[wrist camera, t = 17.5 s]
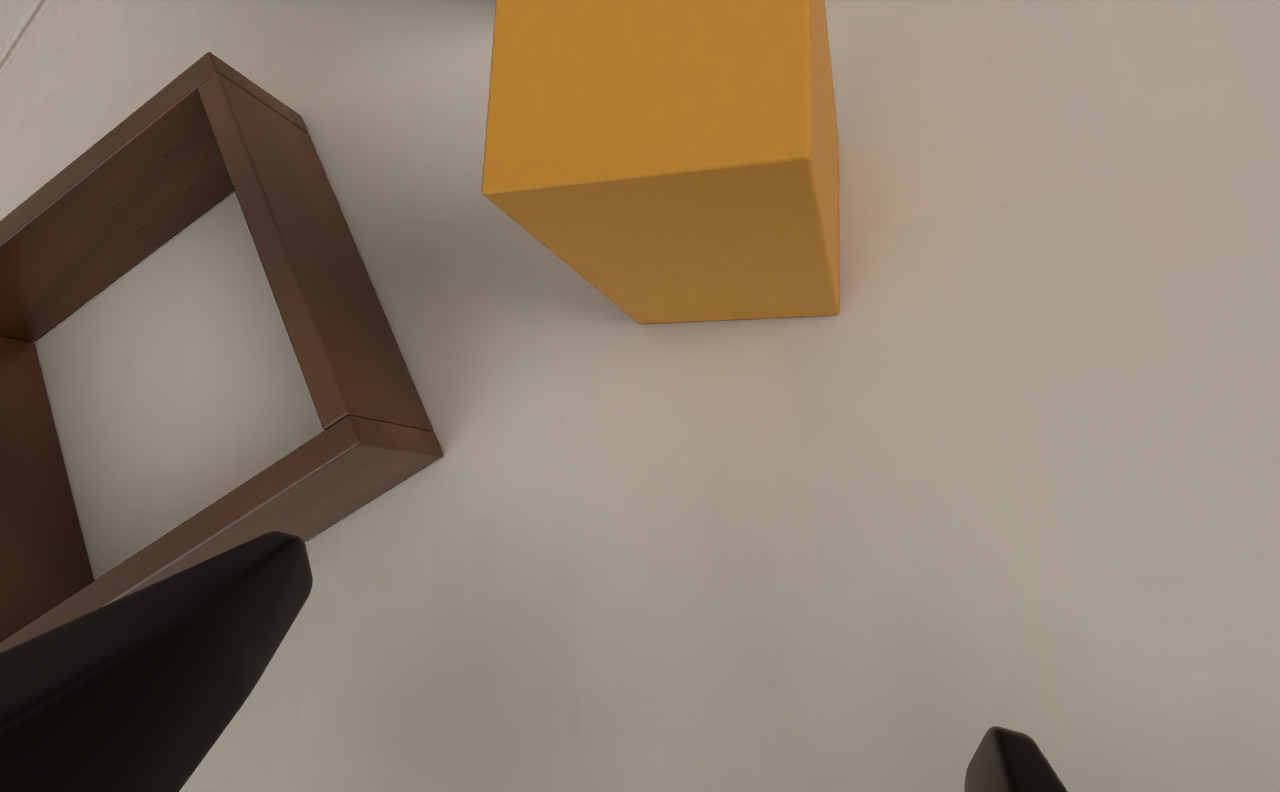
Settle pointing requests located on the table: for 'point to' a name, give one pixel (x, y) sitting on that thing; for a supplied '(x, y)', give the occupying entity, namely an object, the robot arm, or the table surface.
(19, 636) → the brown wooden square frame
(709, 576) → the table surface
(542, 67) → the ochre block
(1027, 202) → the table surface
